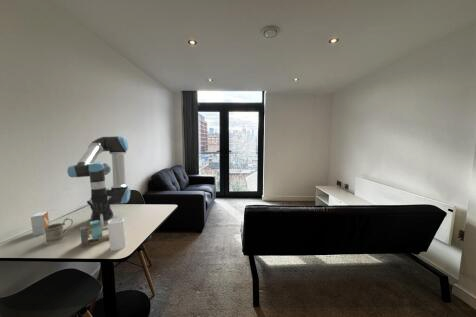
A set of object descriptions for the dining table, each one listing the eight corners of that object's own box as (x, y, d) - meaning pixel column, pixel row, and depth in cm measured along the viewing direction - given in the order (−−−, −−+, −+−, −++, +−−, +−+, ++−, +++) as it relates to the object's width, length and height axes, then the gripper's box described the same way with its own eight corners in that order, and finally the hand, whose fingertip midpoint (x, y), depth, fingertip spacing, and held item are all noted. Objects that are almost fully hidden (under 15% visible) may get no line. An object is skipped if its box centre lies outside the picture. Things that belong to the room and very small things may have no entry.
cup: (114, 243, 122) (112, 217, 121) (128, 242, 123) (126, 217, 121) (107, 251, 114) (104, 223, 112) (122, 250, 115) (120, 222, 113)
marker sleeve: (91, 235, 126) (90, 221, 125) (101, 233, 130) (99, 219, 129) (92, 239, 121) (91, 225, 120) (102, 237, 124) (101, 222, 123)
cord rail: (81, 243, 124) (79, 227, 122) (117, 233, 136) (116, 218, 135) (82, 247, 118) (80, 231, 117) (119, 236, 130) (118, 221, 129)
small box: (45, 233, 137) (43, 215, 136) (32, 236, 134) (30, 217, 133) (50, 229, 144) (47, 211, 143) (38, 230, 142) (35, 212, 140)
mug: (48, 246, 120) (45, 227, 119) (42, 242, 125) (40, 223, 124) (77, 236, 132) (75, 218, 131) (71, 232, 138) (69, 215, 136)
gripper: (85, 191, 117) (89, 230, 120) (111, 187, 125) (115, 223, 128) (84, 188, 123) (88, 226, 125) (109, 185, 131) (113, 220, 134)
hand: (102, 224), depth 127 cm, fingers closed
